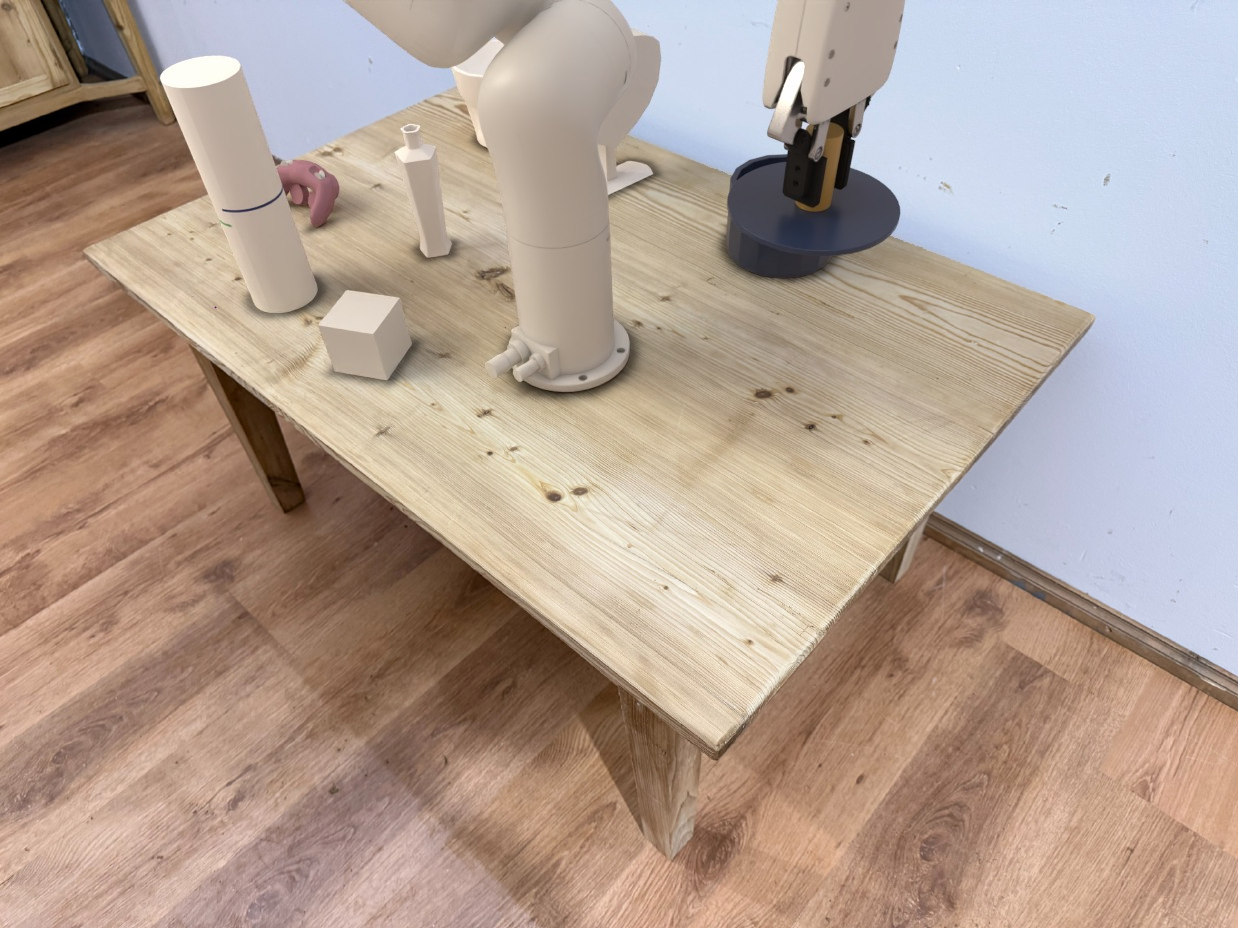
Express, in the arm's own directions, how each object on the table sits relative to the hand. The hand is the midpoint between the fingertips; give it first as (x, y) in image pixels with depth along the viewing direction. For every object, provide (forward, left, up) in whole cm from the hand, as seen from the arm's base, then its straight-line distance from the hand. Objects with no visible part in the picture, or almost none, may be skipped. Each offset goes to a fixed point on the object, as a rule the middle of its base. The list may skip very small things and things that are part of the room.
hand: (814, 189), depth 67 cm
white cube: (-23, +35, -22) cm, 48 cm away
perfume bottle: (-6, +46, -22) cm, 52 cm away
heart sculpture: (+19, +41, -22) cm, 51 cm away
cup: (+19, +61, -22) cm, 68 cm away
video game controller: (-11, +66, -22) cm, 71 cm away
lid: (0, 0, -2) cm, 2 cm away
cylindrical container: (-23, +52, -22) cm, 61 cm away
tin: (+21, +15, -22) cm, 34 cm away
